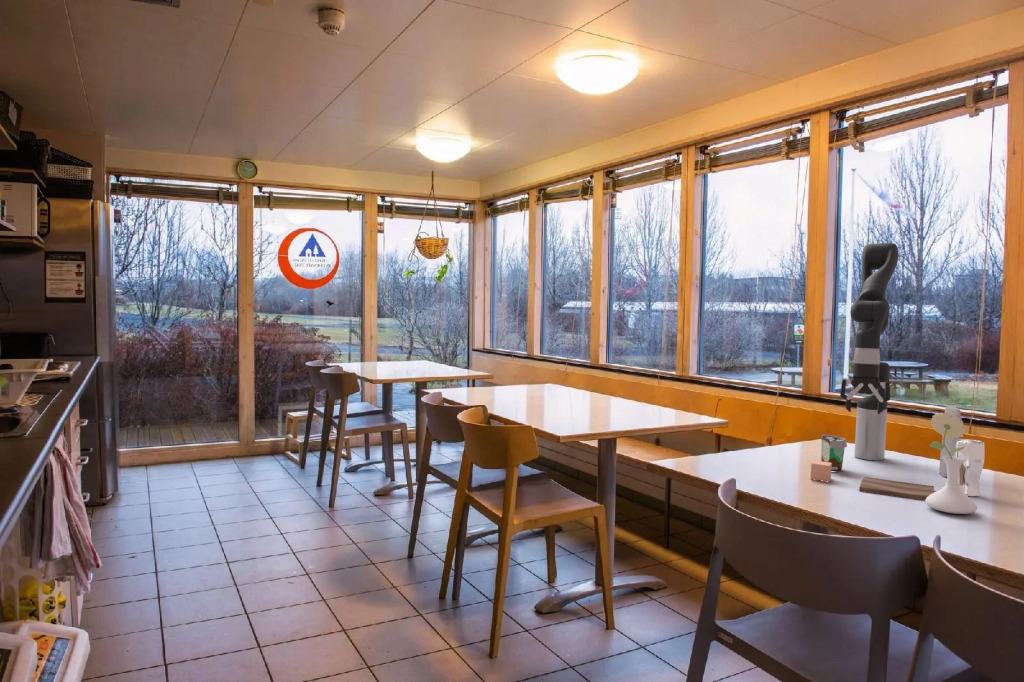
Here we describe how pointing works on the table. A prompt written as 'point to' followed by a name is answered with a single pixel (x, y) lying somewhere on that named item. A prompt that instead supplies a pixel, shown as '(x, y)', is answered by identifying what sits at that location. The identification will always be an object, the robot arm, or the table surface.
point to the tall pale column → (948, 441)
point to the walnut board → (896, 488)
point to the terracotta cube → (821, 470)
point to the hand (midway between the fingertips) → (863, 412)
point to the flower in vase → (950, 469)
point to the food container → (833, 451)
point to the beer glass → (970, 465)
